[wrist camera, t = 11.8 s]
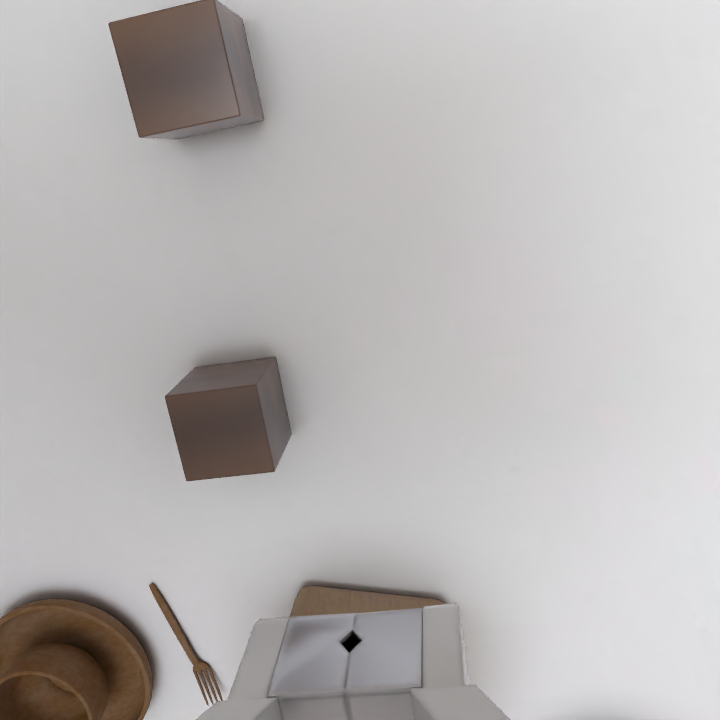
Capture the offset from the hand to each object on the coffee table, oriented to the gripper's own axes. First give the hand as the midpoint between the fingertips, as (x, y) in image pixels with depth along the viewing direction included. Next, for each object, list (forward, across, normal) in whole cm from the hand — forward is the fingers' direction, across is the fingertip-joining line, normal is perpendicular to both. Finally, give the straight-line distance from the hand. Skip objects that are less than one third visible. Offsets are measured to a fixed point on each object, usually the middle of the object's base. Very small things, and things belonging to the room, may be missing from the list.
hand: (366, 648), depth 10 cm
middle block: (+29, -9, +12) cm, 33 cm away
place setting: (+29, -25, -27) cm, 47 cm away
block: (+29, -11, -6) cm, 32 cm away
